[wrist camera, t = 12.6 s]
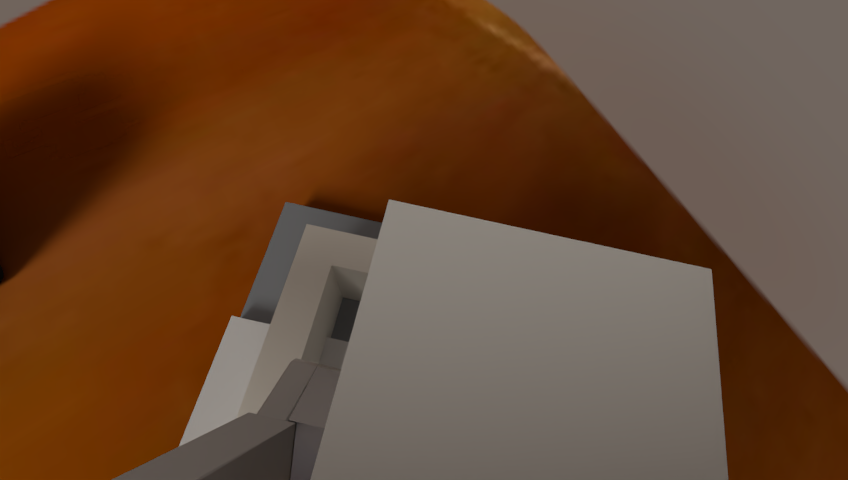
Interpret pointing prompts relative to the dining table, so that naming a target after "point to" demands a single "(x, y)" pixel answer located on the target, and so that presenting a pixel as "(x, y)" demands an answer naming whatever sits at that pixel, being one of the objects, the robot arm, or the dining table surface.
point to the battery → (1, 273)
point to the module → (524, 360)
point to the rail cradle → (289, 312)
